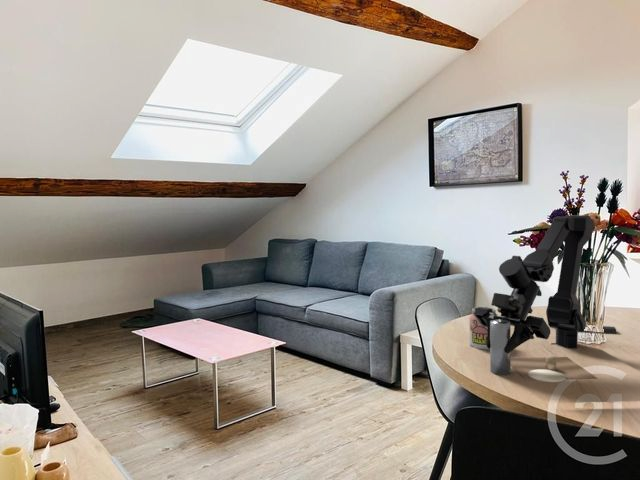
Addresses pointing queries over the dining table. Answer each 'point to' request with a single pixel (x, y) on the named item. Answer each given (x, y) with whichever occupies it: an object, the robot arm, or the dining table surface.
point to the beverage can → (478, 331)
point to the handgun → (606, 329)
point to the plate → (538, 371)
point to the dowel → (550, 362)
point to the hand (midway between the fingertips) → (497, 350)
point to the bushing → (499, 347)
